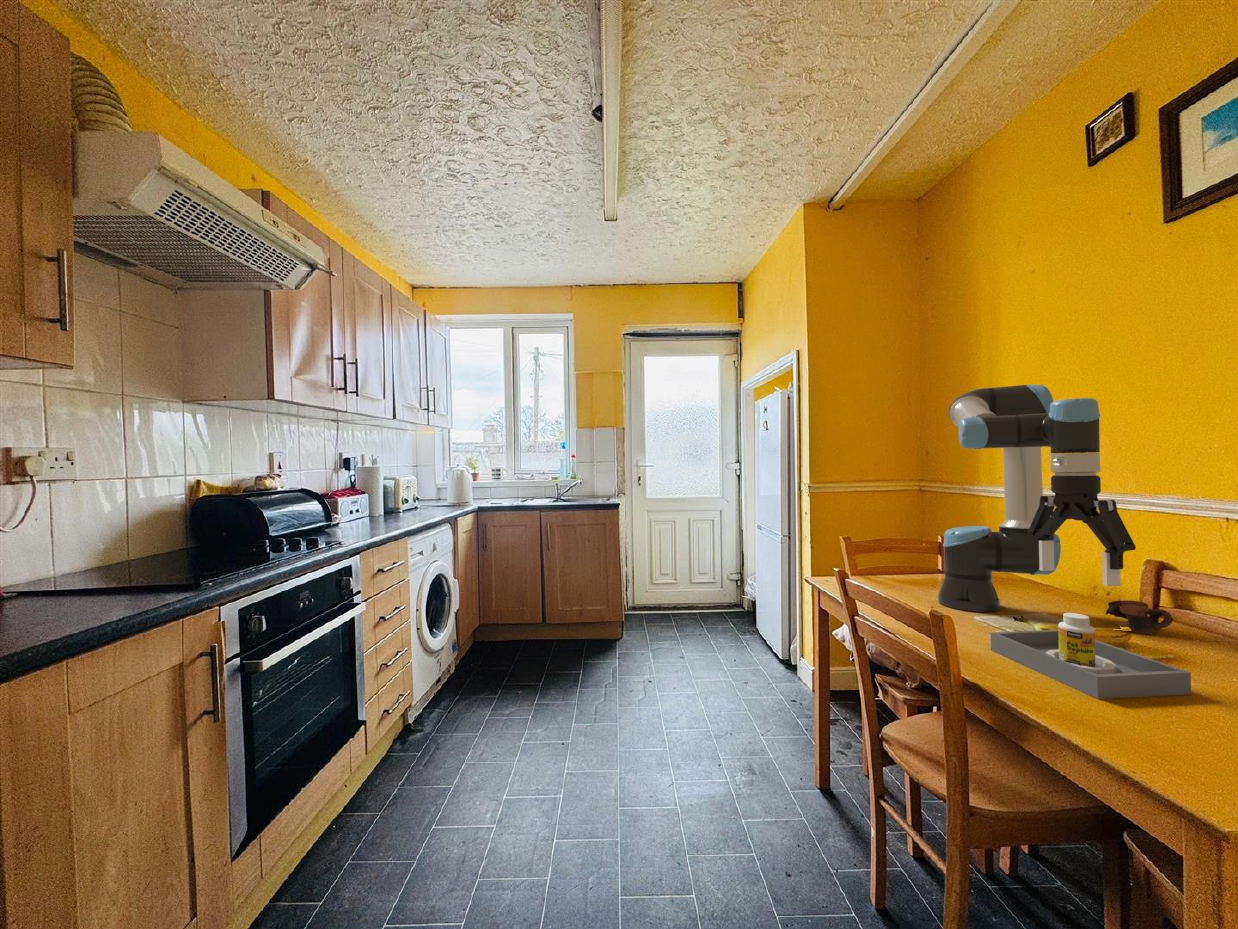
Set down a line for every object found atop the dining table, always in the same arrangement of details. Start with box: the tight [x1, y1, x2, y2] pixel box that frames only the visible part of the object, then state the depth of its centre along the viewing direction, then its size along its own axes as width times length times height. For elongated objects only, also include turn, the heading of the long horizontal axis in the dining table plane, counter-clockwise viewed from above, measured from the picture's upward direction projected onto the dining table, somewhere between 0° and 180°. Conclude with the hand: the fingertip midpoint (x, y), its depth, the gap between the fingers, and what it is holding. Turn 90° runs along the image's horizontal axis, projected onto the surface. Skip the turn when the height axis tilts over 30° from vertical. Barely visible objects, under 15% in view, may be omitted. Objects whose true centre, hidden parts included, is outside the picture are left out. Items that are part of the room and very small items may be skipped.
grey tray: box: [989, 629, 1192, 700], centre depth 102 cm, size 24×18×4 cm
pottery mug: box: [1105, 600, 1174, 636], centre depth 125 cm, size 12×10×8 cm
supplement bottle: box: [1057, 612, 1096, 667], centre depth 102 cm, size 6×6×10 cm
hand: (1077, 577), depth 102 cm, fingers open, 13 cm apart
